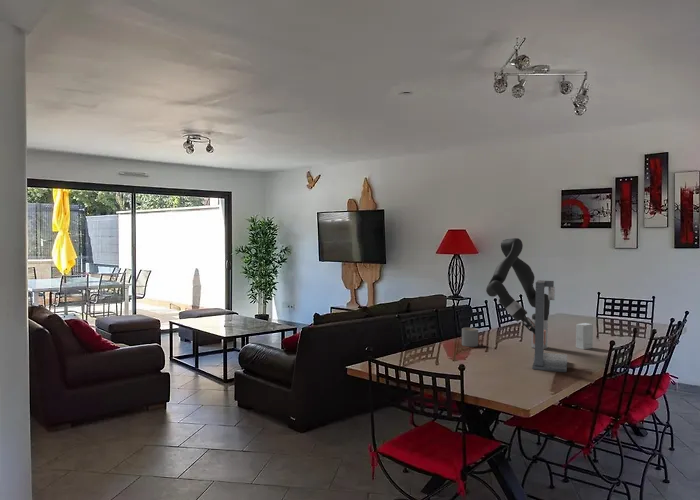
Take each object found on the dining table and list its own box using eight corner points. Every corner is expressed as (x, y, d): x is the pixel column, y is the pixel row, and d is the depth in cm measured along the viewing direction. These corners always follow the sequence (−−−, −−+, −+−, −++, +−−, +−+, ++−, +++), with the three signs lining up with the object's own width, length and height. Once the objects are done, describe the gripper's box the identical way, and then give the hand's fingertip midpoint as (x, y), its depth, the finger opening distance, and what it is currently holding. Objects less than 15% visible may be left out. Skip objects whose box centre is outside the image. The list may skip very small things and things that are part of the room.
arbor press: (535, 359, 286) (536, 279, 285) (567, 362, 280) (568, 280, 279) (532, 369, 264) (533, 282, 263) (566, 372, 258) (567, 283, 257)
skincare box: (584, 346, 321) (585, 322, 321) (593, 348, 316) (593, 324, 315) (575, 347, 317) (575, 323, 317) (583, 349, 312) (583, 325, 312)
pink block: (533, 341, 281) (534, 329, 281) (545, 342, 279) (545, 329, 279) (533, 343, 276) (533, 330, 276) (545, 344, 274) (545, 331, 274)
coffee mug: (474, 347, 318) (474, 330, 317) (459, 345, 323) (459, 329, 323) (482, 343, 328) (482, 327, 328) (467, 341, 334) (467, 326, 334)
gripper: (520, 307, 275) (543, 332, 270) (522, 304, 288) (545, 327, 283) (509, 317, 277) (532, 341, 272) (512, 313, 290) (534, 336, 285)
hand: (539, 334), depth 278 cm, fingers closed on pink block, 5 cm apart
